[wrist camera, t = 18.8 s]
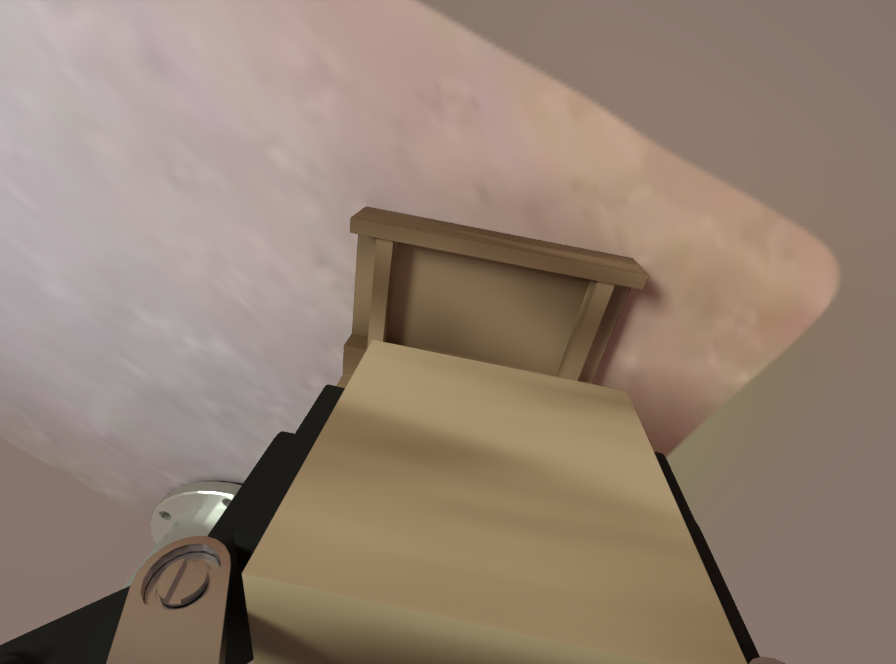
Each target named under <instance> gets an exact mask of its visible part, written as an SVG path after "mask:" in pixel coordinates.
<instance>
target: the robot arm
mask: <svg viewBox="0 0 896 664" xmlns="http://www.w3.org/2000/svg"><path fill="white" fill-rule="evenodd" d="M344 390H345V388H343V387H338V386H333V385H326V386H325V387H324V389H323V390H322V392H321V394H320V395H319V397H318V398H317V400H316V401H315V403H314V405H313V406H312V408H311V409H310V411H309V412H308V414H307V416H306V417H305V419H304V420H303V422H302V424H301V425H300V427H299V428H298V430H297V431H296V433H295V434H293V433H288V432H283V431H282V432H280V433H279V434H278V435H277V436H276V437H275V438H274V439H273V441H272V442H271V444H270V445H269V447H268V448H267V450H266V451H265V453H264V454H263V455H262V457H261V458H260V460H259V461H258V463H257V464H256V466H255V467H254V469H253V470H252V471H251V473H250V474H249V476H248V477H247V479H246V480H245V482H244V483H243V485H238V484H234V483H227V482H217V481H209V482H196V483H191V484H187V485H183V486H181V487H179V488H177V489H175V490H173V491H172V492H171V493H170V494H168V495H167V496H166V497H165V498H164V499H163V500H162V502H161V503H160V504H159V505H158V506H157V508H156V509H155V510H154V513H153V516H152V518H151V532H152V536H153V539H154V542H155V544H156V546H155V548H154V549H153V550H152V551H151V553H150V554H149V555H148V557H147V558H146V559H145V560H144V561H143V563H142V564H141V565H140V567H139V568H138V569H137V570H136V572H135V573H134V574H133V575H132V577H131V578H130V579H129V580H128V582H127V583H126V584H125V586H124V587H123V588H122V590H120V591H118V592H115V593H113V594H111V595H109V596H107V597H104V598H103V599H100V600H98V601H96V602H94V603H91V604H89V605H87V606H85V607H83V608H80V609H78V610H76V611H74V612H72V613H70V614H68V615H65V616H63V617H61V618H59V619H56V620H54V621H52V622H50V623H48V624H46V625H43V626H41V627H39V628H37V629H35V630H32V631H30V632H28V633H26V634H24V635H22V636H19V637H17V638H15V639H13V640H11V641H9V642H6V643H4V644H2V645H0V664H255V663H254V656H253V649H252V642H251V635H250V628H249V621H248V614H247V607H246V600H245V593H244V586H243V579H242V572H243V571H244V569H245V567H246V565H247V563H248V562H249V560H250V558H251V556H252V554H253V553H254V551H255V549H256V547H257V546H258V544H259V542H260V540H261V538H262V537H263V535H264V533H265V531H266V529H267V528H268V526H269V524H270V522H271V520H272V519H273V517H274V515H275V513H276V512H277V510H278V508H279V506H280V504H281V503H282V501H283V499H284V497H285V495H286V494H287V492H288V490H289V488H290V486H291V485H292V483H293V481H294V479H295V477H296V476H297V474H298V472H299V470H300V469H301V467H302V465H303V463H304V461H305V460H306V458H307V456H308V454H309V452H310V451H311V449H312V447H313V445H314V443H315V442H316V440H317V438H318V436H319V435H320V433H321V431H322V429H323V427H324V426H325V424H326V422H327V420H328V418H329V417H330V415H331V413H332V411H333V409H334V408H335V406H336V404H337V402H338V401H339V399H340V397H341V395H342V393H343V392H344ZM654 454H655V456H656V458H657V460H658V463H659V465H660V467H661V469H662V472H663V474H664V476H665V479H666V481H667V483H668V485H669V488H670V490H671V492H672V494H673V497H674V499H675V501H676V503H677V506H678V508H679V510H680V513H681V515H682V517H683V519H684V522H685V524H686V526H687V528H688V531H689V533H690V535H691V538H692V540H693V542H694V544H695V547H696V549H697V551H698V553H699V556H700V558H701V560H702V562H703V565H704V567H705V569H706V572H707V574H708V576H709V578H710V581H711V583H712V585H713V587H714V590H715V592H716V594H717V596H718V599H719V601H720V603H721V606H722V608H723V610H724V612H725V615H726V617H727V619H728V621H729V624H730V626H731V628H732V631H733V633H734V635H735V637H736V640H737V642H738V644H739V646H740V649H741V651H742V653H743V655H744V658H745V660H746V662H747V664H785V663H783V662H780V661H778V660H776V659H774V658H767V657H760V656H759V654H758V652H757V650H756V648H755V645H754V643H753V641H752V639H751V637H750V635H749V633H748V631H747V628H746V626H745V624H744V622H743V620H742V618H741V616H740V613H739V611H738V609H737V607H736V605H735V603H734V600H733V598H732V596H731V594H730V592H729V590H728V588H727V586H726V583H725V581H724V579H723V577H722V575H721V573H720V570H719V568H718V567H717V564H716V562H715V560H714V558H713V555H712V553H711V551H710V549H709V547H708V545H707V543H706V540H705V538H704V536H703V534H702V532H701V530H700V528H699V526H698V524H697V523H696V521H695V520H694V518H693V515H692V513H691V511H690V509H689V507H688V505H687V502H686V500H685V498H684V496H683V494H682V492H681V489H680V487H679V485H678V483H677V481H676V479H675V476H674V474H673V472H672V470H671V468H670V466H669V464H668V461H667V459H666V457H665V456H664V455H663V454H662V453H658V452H654Z"/></svg>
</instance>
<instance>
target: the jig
mask: <svg viewBox="0 0 896 664" xmlns="http://www.w3.org/2000/svg"><path fill="white" fill-rule="evenodd" d="M350 233H355V234H358V244H357V260H356V276H355V293H354V309H353V326H352V334H351V336H350V337H349V339H348V340H347V342H346V343H345V345H344V357H343V376H342V377H341V379H340V381H339V382H338V384H337V386H338V387H343V388H346V386H347V384H348V383H349V381H350V379H351V377H352V375H353V374H354V372H355V370H356V368H357V366H358V365H359V363H360V361H361V359H362V358H363V356H364V354H365V352H366V350H367V349H368V347H369V345H370V343H371V341H372V340H376V341H381V342H386V343H391V344H396V345H401V346H406V347H411V348H416V349H421V350H426V351H431V352H436V353H441V354H446V355H451V356H455V357H460V358H465V359H470V360H475V361H480V362H485V363H490V364H495V365H500V366H505V367H510V368H515V369H520V370H525V371H530V372H535V373H539V374H544V375H549V376H554V377H559V378H564V379H569V380H574V381H579V382H584V383H589V384H593V382H592V380H593V378H594V376H595V373H596V371H597V368H598V366H599V363H600V361H601V359H602V356H603V354H604V351H605V349H606V346H607V344H608V342H609V339H610V337H611V334H612V332H613V329H614V327H615V325H616V322H617V320H618V317H619V315H620V312H621V310H622V307H623V305H624V303H625V300H626V298H627V295H628V293H629V290H630V288H631V287H632V288H637V289H642V290H643V288H644V286H645V284H646V281H647V279H648V277H649V275H648V274H647V273H646V272H645V271H644V270H643V269H642V268H641V267H640V266H639V265H638V263H637V262H636V261H635V260H634V259H633V258H628V257H623V256H618V255H613V254H608V253H603V252H597V251H592V250H587V249H582V248H577V247H572V246H567V245H561V244H556V243H551V242H546V241H541V240H536V239H531V238H525V237H520V236H515V235H510V234H505V233H500V232H494V231H489V230H484V229H479V228H474V227H469V226H464V225H458V224H453V223H448V222H443V221H438V220H433V219H428V218H422V217H417V216H412V215H407V214H402V213H397V212H392V211H386V210H381V209H376V208H371V207H365V208H363V209H362V210H361V211H359V212H358V213H356V214H355V215H354V216H352V217H351V220H350Z"/></svg>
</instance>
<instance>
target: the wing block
mask: <svg viewBox="0 0 896 664" xmlns="http://www.w3.org/2000/svg"><path fill="white" fill-rule="evenodd" d="M242 579H243V586H244V593H245V600H246V607H247V614H248V621H249V628H250V635H251V642H252V649H253V656H254V663H255V664H747V662H746V660H745V658H744V655H743V653H742V651H741V649H740V646H739V644H738V642H737V640H736V637H735V635H734V633H733V631H732V628H731V626H730V624H729V621H728V619H727V617H726V615H725V612H724V610H723V608H722V606H721V603H720V601H719V599H718V596H717V594H716V592H715V590H714V587H713V585H712V583H711V581H710V578H709V576H708V574H707V572H706V569H705V567H704V565H703V562H702V560H701V558H700V556H699V553H698V551H697V549H696V547H695V544H694V542H693V540H692V538H691V535H690V533H689V531H688V528H687V526H686V524H685V522H684V519H683V517H682V515H681V513H680V510H679V508H678V506H677V503H676V501H675V499H674V497H673V494H672V492H671V490H670V488H669V485H668V483H667V481H666V479H665V476H664V474H663V472H662V469H661V467H660V465H659V463H658V460H657V458H656V456H655V454H654V451H653V449H652V447H651V445H650V442H649V440H648V438H647V435H646V433H645V431H644V429H643V426H642V424H641V422H640V420H639V417H638V415H637V413H636V411H635V408H634V406H633V404H632V401H631V399H630V397H629V395H628V392H627V391H624V390H619V389H614V388H609V387H604V386H599V385H594V384H589V383H584V382H579V381H574V380H569V379H564V378H559V377H554V376H549V375H544V374H539V373H535V372H530V371H525V370H520V369H515V368H510V367H505V366H500V365H495V364H490V363H485V362H480V361H475V360H470V359H465V358H460V357H455V356H451V355H446V354H441V353H436V352H431V351H426V350H421V349H416V348H411V347H406V346H401V345H396V344H391V343H386V342H381V341H376V340H372V341H371V343H370V345H369V347H368V349H367V350H366V352H365V354H364V356H363V358H362V359H361V361H360V363H359V365H358V366H357V368H356V370H355V372H354V374H353V375H352V377H351V379H350V381H349V383H348V384H347V386H346V388H345V390H344V392H343V393H342V395H341V397H340V399H339V401H338V402H337V404H336V406H335V408H334V409H333V411H332V413H331V415H330V417H329V418H328V420H327V422H326V424H325V426H324V427H323V429H322V431H321V433H320V435H319V436H318V438H317V440H316V442H315V443H314V445H313V447H312V449H311V451H310V452H309V454H308V456H307V458H306V460H305V461H304V463H303V465H302V467H301V469H300V470H299V472H298V474H297V476H296V477H295V479H294V481H293V483H292V485H291V486H290V488H289V490H288V492H287V494H286V495H285V497H284V499H283V501H282V503H281V504H280V506H279V508H278V510H277V512H276V513H275V515H274V517H273V519H272V520H271V522H270V524H269V526H268V528H267V529H266V531H265V533H264V535H263V537H262V538H261V540H260V542H259V544H258V546H257V547H256V549H255V551H254V553H253V554H252V556H251V558H250V560H249V562H248V563H247V565H246V567H245V569H244V571H243V572H242Z"/></svg>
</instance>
